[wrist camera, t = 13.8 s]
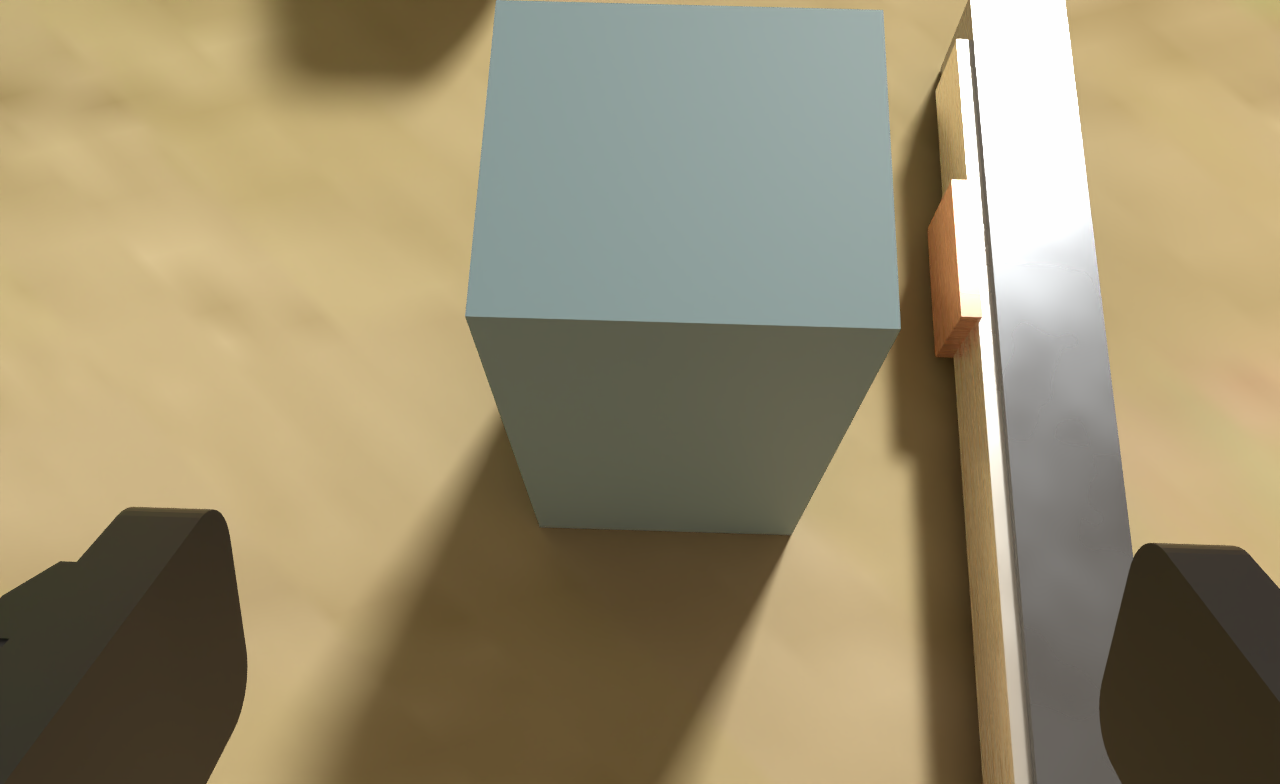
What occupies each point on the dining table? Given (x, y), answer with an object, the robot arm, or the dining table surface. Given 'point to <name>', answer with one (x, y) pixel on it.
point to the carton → (682, 255)
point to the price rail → (1028, 392)
